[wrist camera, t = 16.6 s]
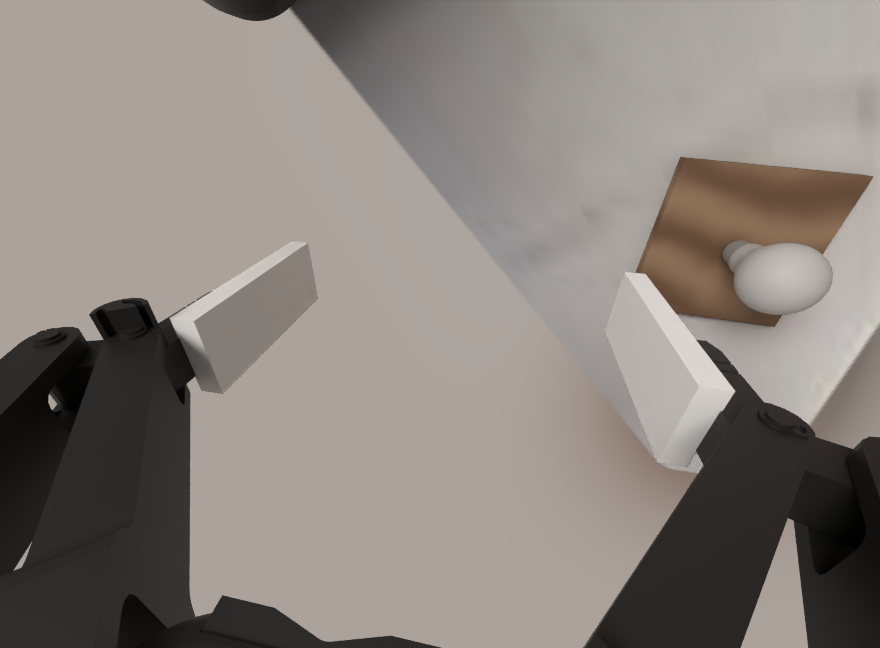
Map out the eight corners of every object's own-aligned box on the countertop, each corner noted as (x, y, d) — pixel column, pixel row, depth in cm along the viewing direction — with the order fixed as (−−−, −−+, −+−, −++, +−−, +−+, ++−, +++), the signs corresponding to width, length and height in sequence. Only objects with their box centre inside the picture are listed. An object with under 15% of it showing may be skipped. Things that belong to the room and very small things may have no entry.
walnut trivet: (680, 157, 35) (685, 158, 34) (862, 174, 33) (873, 176, 32) (624, 300, 43) (627, 305, 42) (767, 321, 41) (774, 326, 40)
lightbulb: (783, 233, 36) (877, 274, 26) (737, 284, 39) (807, 338, 30) (726, 211, 36) (800, 245, 26) (685, 265, 39) (738, 312, 29)
